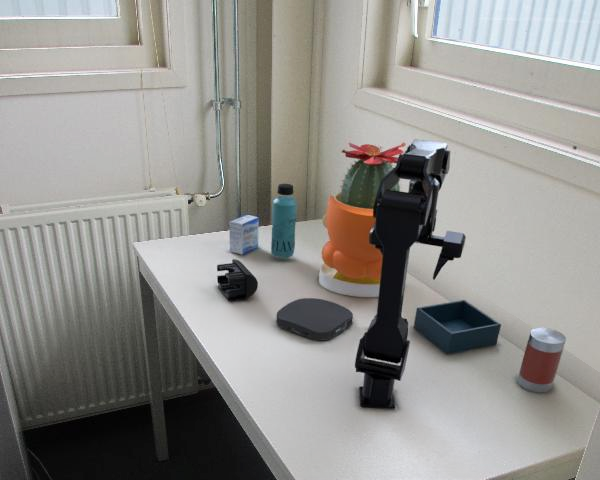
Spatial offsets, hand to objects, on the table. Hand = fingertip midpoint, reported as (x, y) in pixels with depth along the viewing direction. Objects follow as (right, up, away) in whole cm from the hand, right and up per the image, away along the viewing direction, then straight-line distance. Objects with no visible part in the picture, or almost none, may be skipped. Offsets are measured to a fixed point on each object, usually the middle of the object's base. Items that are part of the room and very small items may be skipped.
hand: (412, 274), depth 142 cm
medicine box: (-39, +16, +47) cm, 63 cm away
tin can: (+24, -23, -6) cm, 34 cm away
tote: (+11, -12, +9) cm, 19 cm away
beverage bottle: (-28, +12, +43) cm, 53 cm away
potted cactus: (-8, +2, +29) cm, 30 cm away
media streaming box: (-20, -9, +11) cm, 25 cm away
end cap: (-39, 0, +22) cm, 45 cm away
